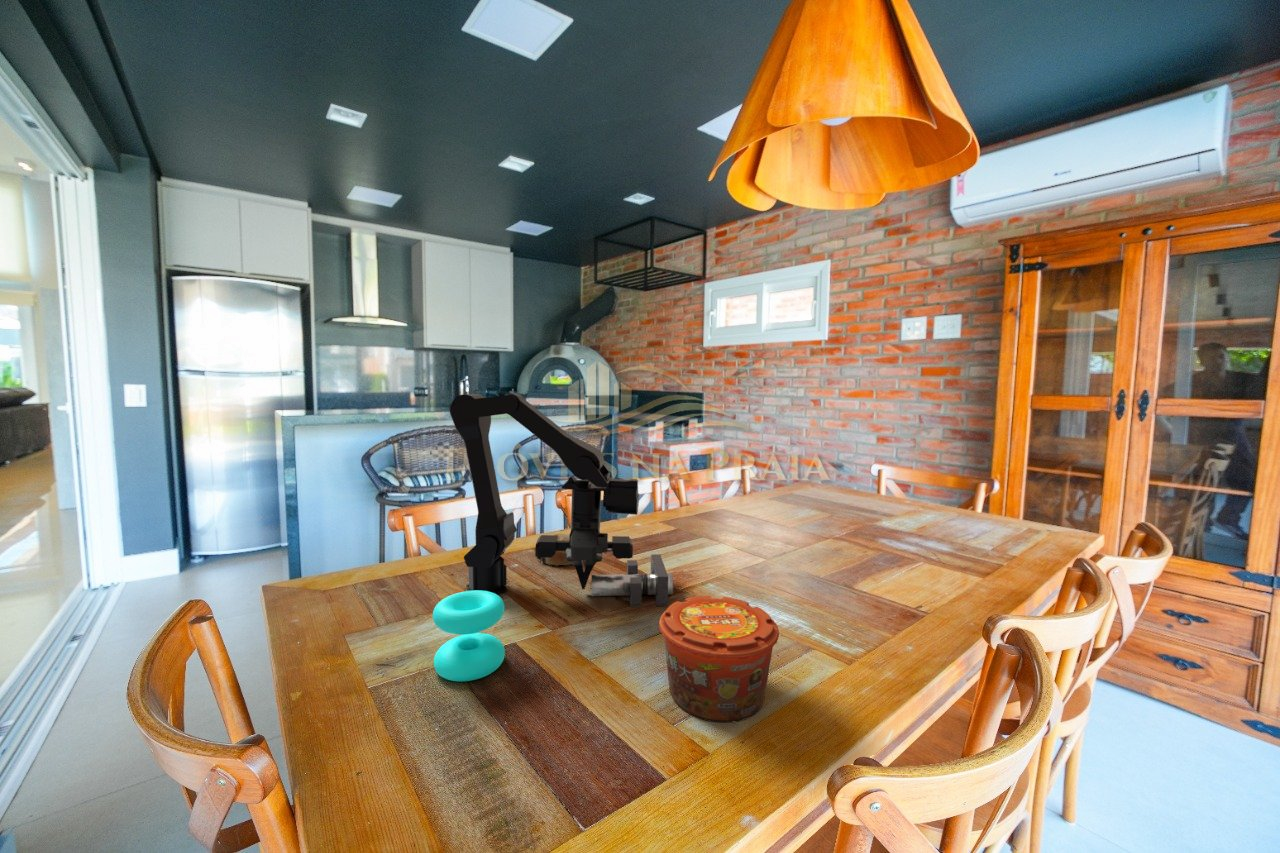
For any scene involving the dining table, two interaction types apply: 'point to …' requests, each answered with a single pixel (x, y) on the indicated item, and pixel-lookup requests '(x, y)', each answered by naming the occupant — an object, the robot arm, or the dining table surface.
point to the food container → (718, 656)
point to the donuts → (468, 635)
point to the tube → (625, 584)
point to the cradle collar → (634, 584)
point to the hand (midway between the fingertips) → (583, 588)
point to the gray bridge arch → (660, 580)
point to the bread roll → (557, 554)
